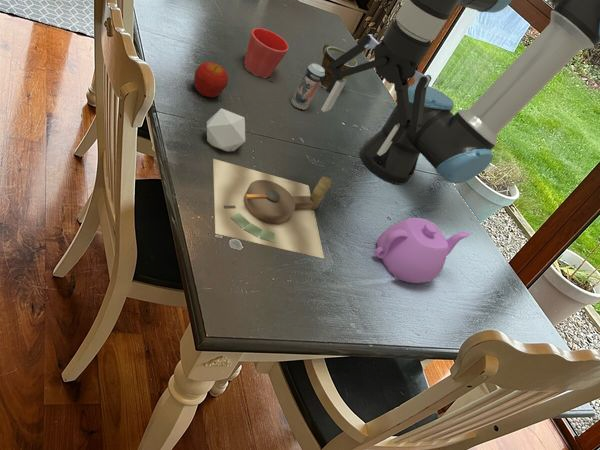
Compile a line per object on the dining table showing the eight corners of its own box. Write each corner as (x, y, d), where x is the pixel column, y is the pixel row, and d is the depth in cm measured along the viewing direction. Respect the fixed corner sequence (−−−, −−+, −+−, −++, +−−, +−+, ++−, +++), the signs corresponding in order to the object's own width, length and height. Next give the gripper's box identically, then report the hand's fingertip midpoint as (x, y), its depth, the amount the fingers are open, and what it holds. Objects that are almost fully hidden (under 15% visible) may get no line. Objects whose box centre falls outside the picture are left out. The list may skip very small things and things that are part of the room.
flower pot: (282, 77, 162) (296, 47, 157) (260, 84, 154) (274, 53, 148) (254, 56, 164) (267, 25, 159) (231, 62, 156) (244, 30, 150)
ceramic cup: (347, 96, 172) (363, 68, 167) (322, 94, 166) (338, 65, 160) (324, 70, 179) (339, 42, 173) (300, 68, 172) (314, 38, 166)
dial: (251, 224, 109) (266, 197, 104) (232, 188, 114) (245, 160, 110) (326, 222, 120) (342, 197, 115) (305, 189, 125) (320, 164, 121)
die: (220, 166, 121) (258, 138, 120) (193, 133, 118) (232, 103, 117) (219, 156, 129) (255, 129, 128) (194, 124, 126) (230, 97, 125)
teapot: (380, 288, 115) (412, 248, 108) (356, 238, 123) (384, 199, 116) (453, 290, 125) (486, 254, 118) (426, 245, 133) (456, 208, 126)
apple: (217, 87, 143) (228, 60, 138) (223, 106, 138) (235, 78, 133) (187, 80, 139) (197, 52, 135) (192, 99, 134) (203, 70, 130)
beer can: (287, 103, 153) (307, 64, 146) (294, 98, 157) (313, 60, 150) (302, 113, 153) (323, 75, 146) (309, 107, 157) (328, 70, 149)
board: (306, 189, 128) (309, 185, 127) (321, 262, 112) (324, 257, 111) (211, 163, 120) (213, 158, 119) (213, 237, 104) (215, 232, 103)
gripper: (480, 70, 96) (412, 165, 109) (365, -12, 101) (313, 88, 114) (467, 77, 90) (397, 177, 103) (345, -10, 96) (293, 95, 108)
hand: (353, 131), depth 109 cm, fingers open, 13 cm apart
